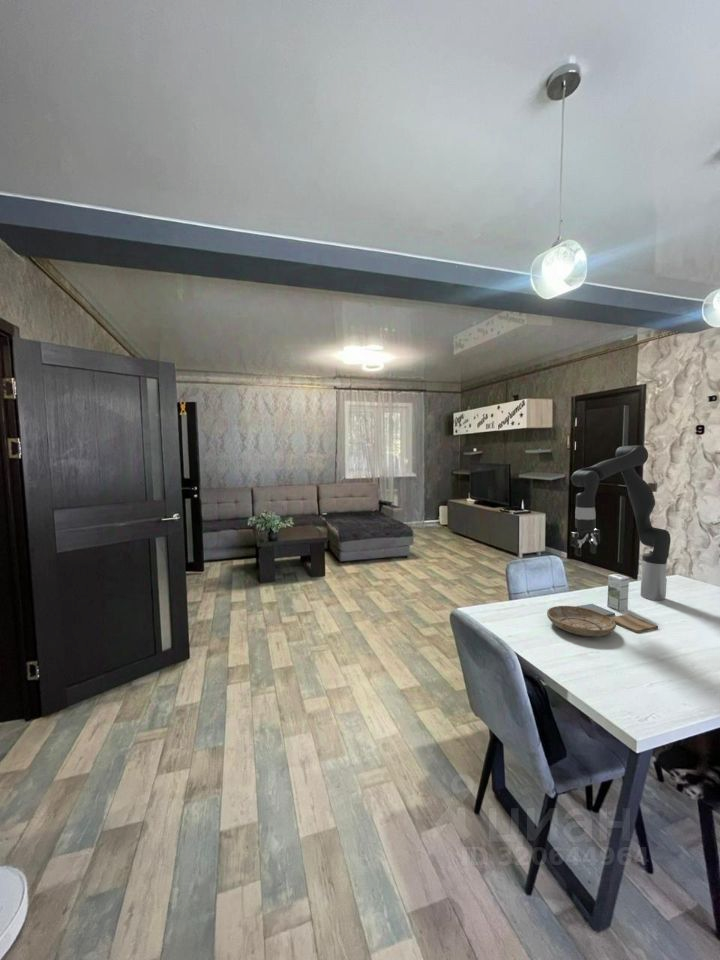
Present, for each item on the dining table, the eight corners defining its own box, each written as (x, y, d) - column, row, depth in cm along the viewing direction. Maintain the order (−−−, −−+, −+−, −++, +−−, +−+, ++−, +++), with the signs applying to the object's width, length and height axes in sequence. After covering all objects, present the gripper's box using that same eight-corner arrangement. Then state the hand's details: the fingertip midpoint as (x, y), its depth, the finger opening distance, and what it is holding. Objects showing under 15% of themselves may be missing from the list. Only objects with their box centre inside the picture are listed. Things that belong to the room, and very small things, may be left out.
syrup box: (628, 609, 171) (629, 577, 170) (619, 611, 169) (620, 578, 168) (615, 604, 177) (617, 573, 176) (606, 606, 175) (607, 574, 174)
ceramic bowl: (627, 646, 139) (627, 632, 139) (556, 639, 144) (556, 626, 144) (601, 619, 162) (601, 607, 162) (540, 614, 167) (540, 602, 166)
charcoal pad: (591, 605, 175) (591, 603, 175) (614, 615, 165) (615, 613, 165) (573, 608, 172) (573, 606, 172) (595, 619, 162) (595, 616, 161)
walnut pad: (628, 616, 164) (628, 614, 164) (658, 628, 153) (658, 625, 153) (607, 620, 160) (607, 617, 160) (636, 633, 149) (636, 630, 149)
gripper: (589, 514, 173) (590, 550, 174) (565, 517, 168) (565, 554, 169) (605, 516, 166) (605, 554, 167) (580, 520, 161) (580, 558, 162)
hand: (585, 554), depth 168 cm, fingers open, 8 cm apart
